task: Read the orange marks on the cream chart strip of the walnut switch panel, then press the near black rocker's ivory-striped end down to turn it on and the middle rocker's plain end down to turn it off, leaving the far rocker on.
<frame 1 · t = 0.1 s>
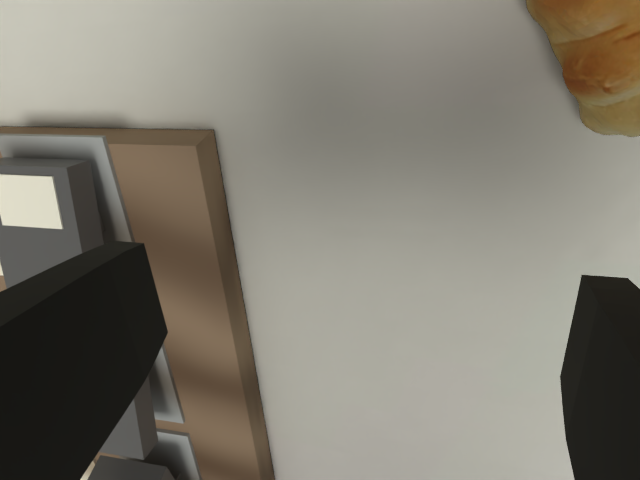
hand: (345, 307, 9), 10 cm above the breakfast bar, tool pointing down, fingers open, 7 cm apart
switch panel: (115, 337, 26), on the breakfast bar
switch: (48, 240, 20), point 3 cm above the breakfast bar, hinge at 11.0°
switch mid: (105, 391, 23), point 3 cm above the breakfast bar, hinge at 11.0°
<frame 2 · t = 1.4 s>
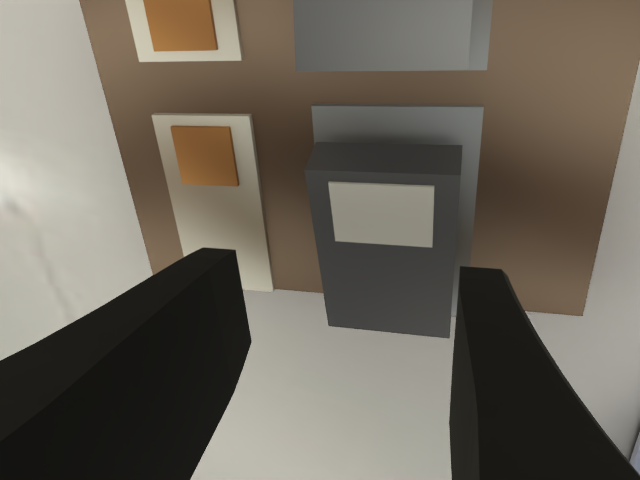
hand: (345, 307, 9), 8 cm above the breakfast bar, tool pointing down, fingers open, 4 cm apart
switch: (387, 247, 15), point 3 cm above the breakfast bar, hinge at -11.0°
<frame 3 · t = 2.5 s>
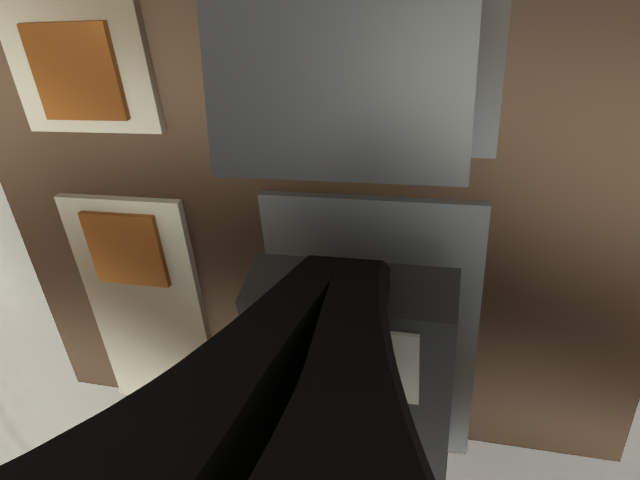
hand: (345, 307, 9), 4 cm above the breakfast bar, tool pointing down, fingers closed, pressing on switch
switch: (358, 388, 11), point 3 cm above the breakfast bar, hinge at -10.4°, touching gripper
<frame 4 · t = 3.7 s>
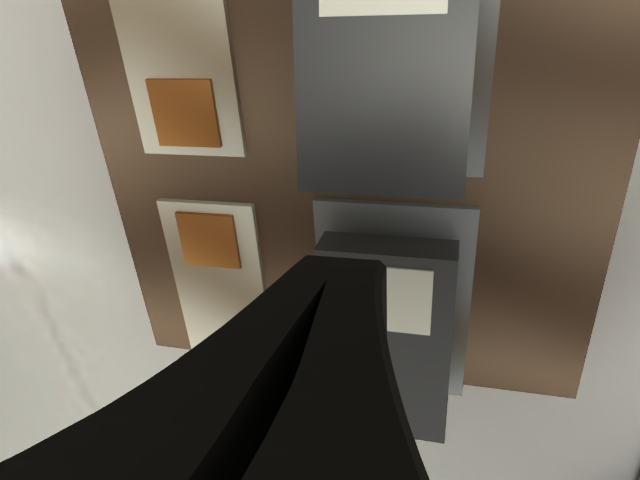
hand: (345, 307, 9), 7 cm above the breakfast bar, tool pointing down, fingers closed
switch panel: (344, 25, 14), on the breakfast bar
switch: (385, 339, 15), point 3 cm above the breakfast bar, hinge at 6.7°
switch mid: (385, 53, 11), point 3 cm above the breakfast bar, hinge at 11.0°
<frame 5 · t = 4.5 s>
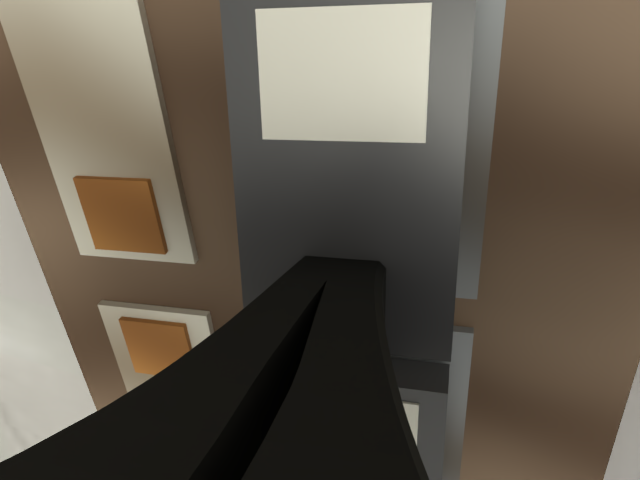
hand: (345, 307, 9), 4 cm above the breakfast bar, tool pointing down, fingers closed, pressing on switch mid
switch panel: (309, 112, 12), on the breakfast bar
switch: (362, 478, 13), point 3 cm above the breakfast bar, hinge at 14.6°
switch mid: (349, 178, 9), point 3 cm above the breakfast bar, hinge at 10.9°, touching gripper
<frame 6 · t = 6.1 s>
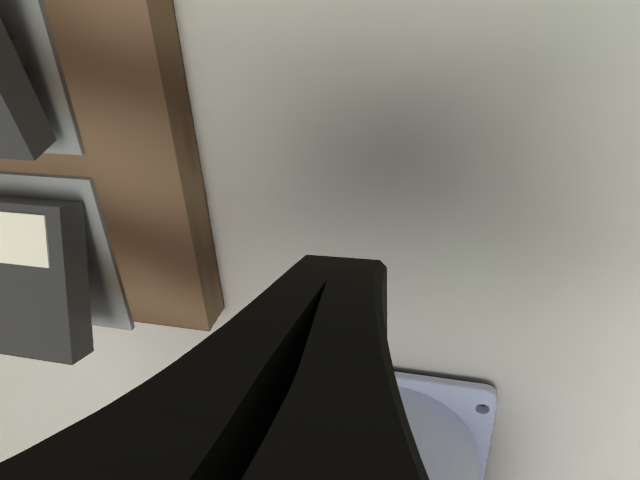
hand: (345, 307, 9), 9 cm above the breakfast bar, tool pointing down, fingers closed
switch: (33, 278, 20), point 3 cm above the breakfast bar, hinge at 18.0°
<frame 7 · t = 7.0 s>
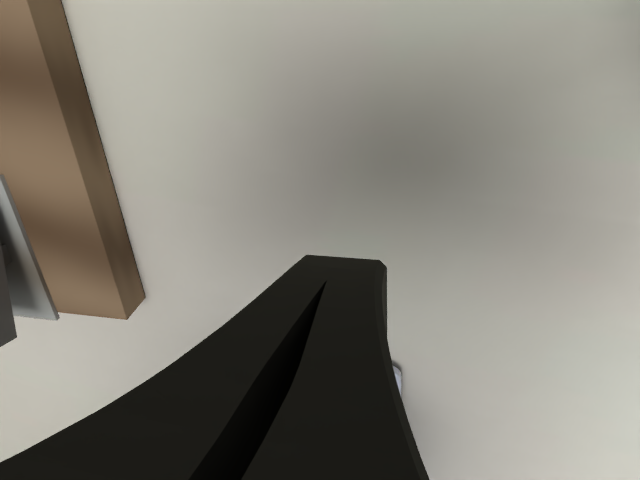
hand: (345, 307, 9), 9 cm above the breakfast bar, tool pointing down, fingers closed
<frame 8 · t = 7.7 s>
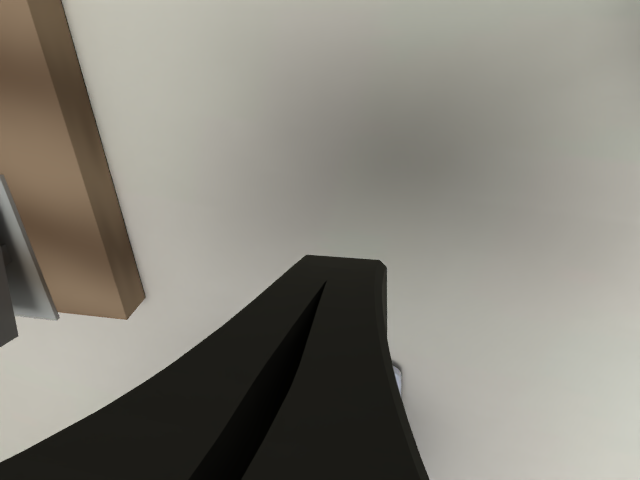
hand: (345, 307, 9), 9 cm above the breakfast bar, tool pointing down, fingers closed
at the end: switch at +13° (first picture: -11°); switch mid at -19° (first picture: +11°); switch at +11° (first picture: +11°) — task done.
